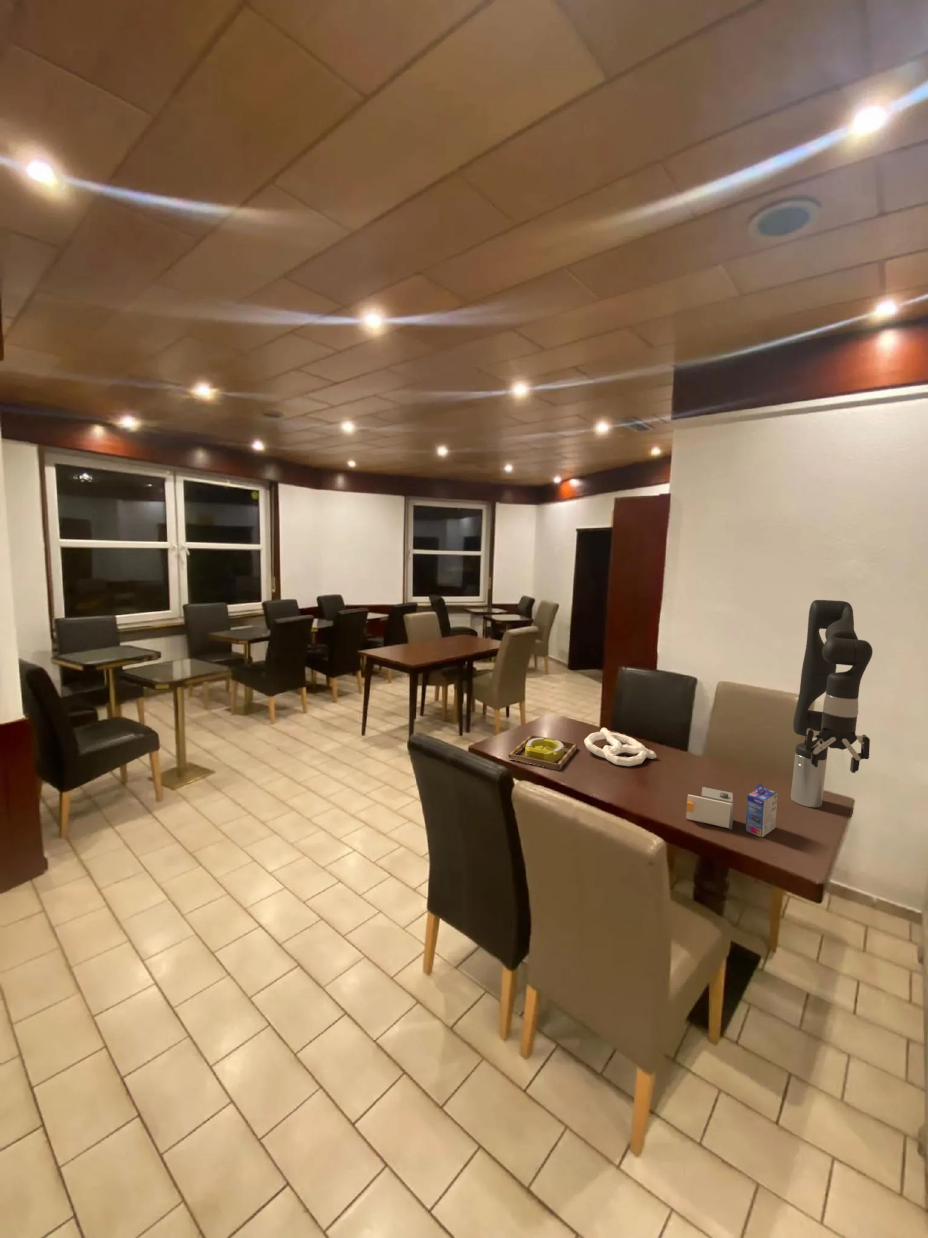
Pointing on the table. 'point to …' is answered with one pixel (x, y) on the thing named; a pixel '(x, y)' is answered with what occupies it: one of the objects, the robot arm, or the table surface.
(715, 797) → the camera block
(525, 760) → the wooden tray
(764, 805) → the ink cartridge box
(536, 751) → the ashtray
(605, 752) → the pretzel
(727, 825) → the door
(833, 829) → the table surface
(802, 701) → the robot arm
